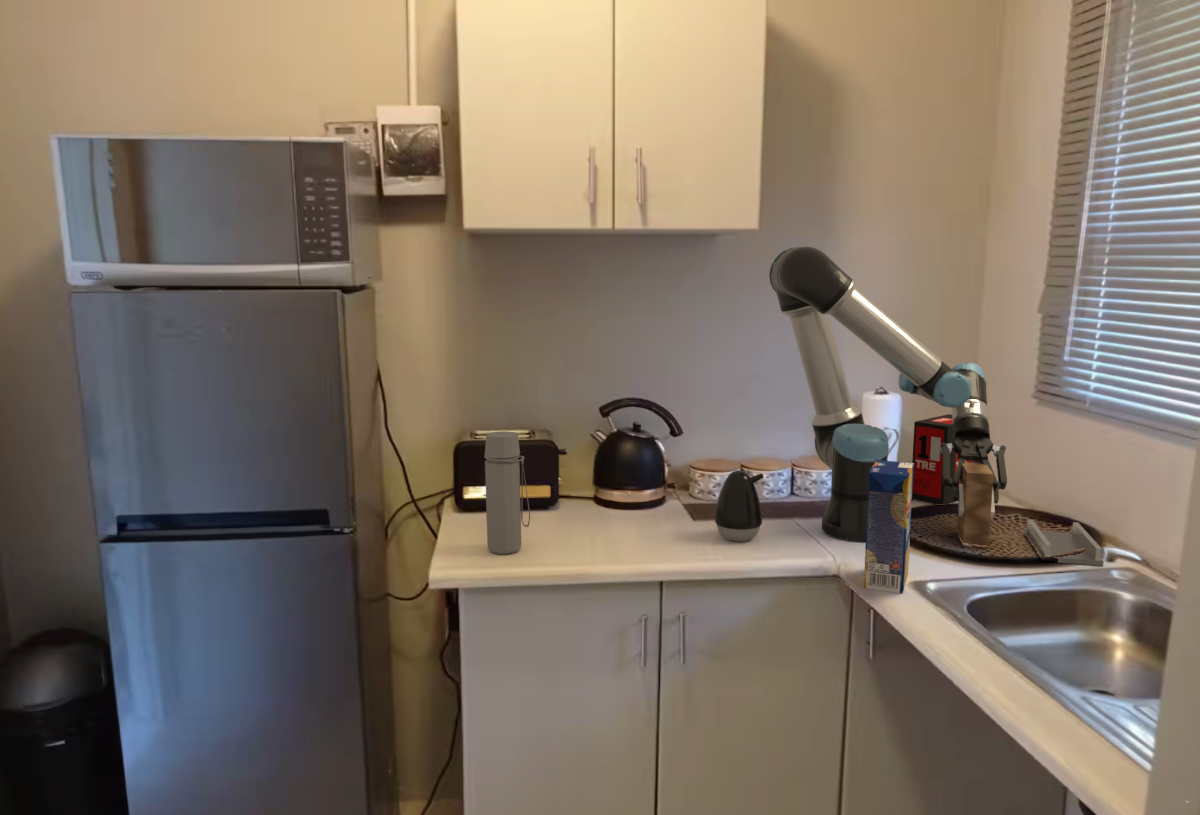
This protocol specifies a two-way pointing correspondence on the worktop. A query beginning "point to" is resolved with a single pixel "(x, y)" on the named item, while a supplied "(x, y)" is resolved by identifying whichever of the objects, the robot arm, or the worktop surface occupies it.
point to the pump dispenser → (739, 507)
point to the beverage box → (888, 525)
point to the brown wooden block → (976, 503)
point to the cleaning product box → (933, 460)
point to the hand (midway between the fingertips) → (976, 514)
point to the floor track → (1065, 544)
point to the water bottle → (503, 492)
